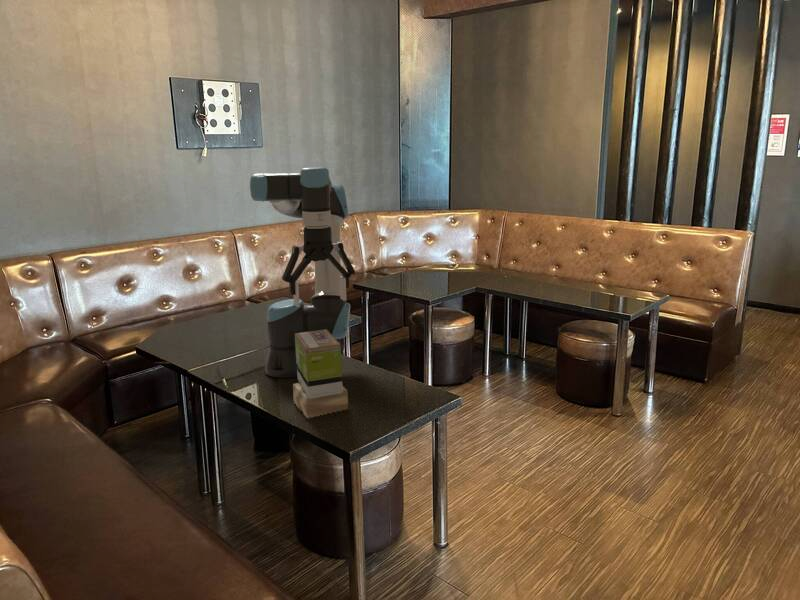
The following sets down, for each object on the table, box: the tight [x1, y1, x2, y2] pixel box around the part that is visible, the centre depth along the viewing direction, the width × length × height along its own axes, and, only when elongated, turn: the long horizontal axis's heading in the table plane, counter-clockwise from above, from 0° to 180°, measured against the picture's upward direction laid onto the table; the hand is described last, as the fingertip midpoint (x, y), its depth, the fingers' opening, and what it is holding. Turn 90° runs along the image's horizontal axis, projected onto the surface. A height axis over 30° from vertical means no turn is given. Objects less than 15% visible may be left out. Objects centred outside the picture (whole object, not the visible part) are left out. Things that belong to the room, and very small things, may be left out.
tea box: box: [295, 329, 344, 399], centre depth 169 cm, size 15×10×15 cm
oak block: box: [292, 382, 349, 419], centre depth 171 cm, size 12×12×6 cm
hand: (320, 302), depth 167 cm, fingers open, 13 cm apart
